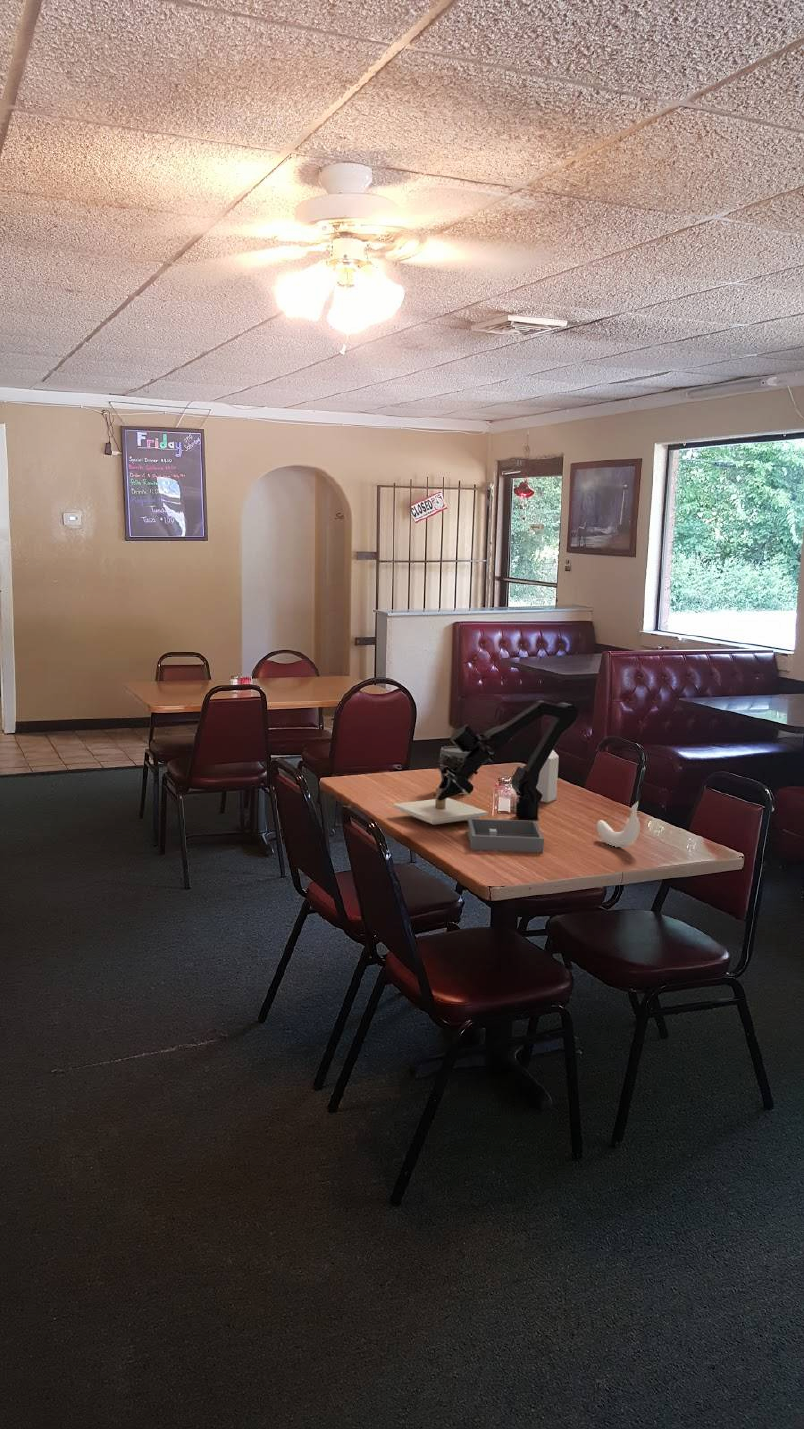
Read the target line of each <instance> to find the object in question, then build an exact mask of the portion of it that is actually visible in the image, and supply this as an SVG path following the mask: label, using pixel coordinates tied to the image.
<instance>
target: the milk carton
mask: <svg viewBox="0 0 804 1429" xmlns="http://www.w3.org/2000/svg"><path fill="white" fill-rule="evenodd" d="M559 756H560V755H558V754H557V752H555V750H554V749H553V750H552V752H551V754H550V755H549V757H548V759H547V761H546V762H545V764H544V766H543V767H542V769H541V771H540V774H539V781H538V784H537V786H536V788H537V790H538V791H539V792H540V793H541V794H542V798H541V801H540V802H542V803H546V804H547V803H550V802H553V801H555V800H557V792H558V791H557V790H558V774H559V759H560V758H559ZM531 757H532V755H531ZM531 757H530V758H531Z"/></svg>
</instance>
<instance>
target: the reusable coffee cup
mask: <svg viewBox="0 0 804 1429" xmlns="http://www.w3.org/2000/svg"><path fill="white" fill-rule="evenodd" d="M442 753H444V754H446V755H448V756H452V755H454V756H456V757H458V759H459V758H460V757H462V758H464V757H465V756H466V755H467V754H468V753H469V752H462V751H461V750H460V749H459V748H458V747H457V746H456V745H449V746H442V747H441V748H440V753H439V758H440V757H441V755H442ZM439 766H440V767H441V766H442V764H441V763H440V764H439ZM440 767H439V768H440ZM474 775H475V774H473V775H472V776H471V777H470V778H469V779H468V781H469V782H470V783H471V784H472V781H473V779H474ZM440 778H441V779H442V775H441V774H440ZM462 791H463V793H460V794H464V795H468V794H467V793H466V792H465V790H464V789H463V790H462Z"/></svg>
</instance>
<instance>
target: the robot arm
mask: <svg viewBox="0 0 804 1429" xmlns="http://www.w3.org/2000/svg"><path fill="white" fill-rule="evenodd" d="M545 715H547V716H550V721H549V726H548V728H547V730H546V731H545V733H544V734H543V736H542V739H541V740H540V742H539V744H538V745H537V747H536V748H535V750H534V752H533V753H532V755H531V756H532V757H530V758H529V760H528V761H527V763H526V764H525V765H524V766H523V767H521V766H519V765H518V766H517V767H516V769H515V772H514V773H513V774H512V775H511V778H512V779H511V781H510V784H511V787H512V789H513V790H514V791H515V794H516V796H517V801H515V810H514V811H515V813H514V814H515V816H516V818H517V820H529V821H538V820H539V807H540V806H539V802H541V798H542V794H541V793H540V792H539V791H538V790H537V788H536V786H537V784H538V781H539V774H540V771H541V769H542V767H543V766H544V764H545V762H546V761H547V759H548V757H549V755H550V754H551V752H552V750H554V749H555V747H556V745H558V744H557V743H558V742H559V740H560V739H561V737H562V736H563V734H564V733H565V732H566V731H568V730H569V729H571V727H572V726H573V725H574V724H575V722H576V721H578V719H579V715H580V714H579V709H578V708H577V707H576V706H575V705H573V704H570V703H567V702H562V701H561V702H558V703H557V704H556V703H552V702H547V701H544V700H536V701H535V703H534V704H532V705H531V706H530V707H527V708H526V709H524V710H523V711H521V713H519V714H517V715H516V716H514V717H513V718H511V719H510V720H509V721H507V722H506V723H504V724H501V725H497V726H494V727H492V728H490V729H488V730H486V731H485V732H484V733H477V734H475V732H474V731H473V730H472V728H471V727H470V726H469V725H468V724H464V725H463V726H462V727H460V728H458V729H456V730H455V731H453V733H451V736H450V740H451V742H452V743H453V744H454V746H457V747H458V748H459V749H460V750H461V751H462V752H469V753H468V754H467V755H466V756H465V757H464V758H462V757H460V758H459V759H458V757H456V756H454V755H452V756H448V755H446V754H444V753H442V755H441V757H440V756H439V759H438V762H437V763H440V764H442V766H441V767H438V770H439V771H440V776H441V775H442V778H441V781H440V784H439V786H438V787H437V788H444V790H443V791H442V792H441V794H440V795H439V796H438V798H437V799H438V800H439V801H441V800H443V799H446V798H450V797H454V796H458V795H457V794H460V793H463V791H462V790H463V789H464V790H465V792H466V793H467V794H466V795H470V794H471V793H472V792H473V791H474V785H473V784H472V782H471V783H470V782H469V781H468V779H469V778H470V777H471V776H472V775H473V774H474V775H475V776H476V775H478V774H479V772H478V770H479V769H480V768H481V767H482V766H484V764H485V763H486V762H487V761H490V762H492V763H496V753H494V752H490V750H492V751H495V752H500V751H502V750H503V749H504V748H505V747H506V746H507V745H508V744H509V743H510V742H511V740H512V739H513V737H514V736H515V735H517V734H518V733H520V732H521V731H523V730H524V729H526V728H528V726H530V725H531V724H533V723H534V722H536V721H538V719H541V718H542V717H543V716H545ZM478 743H479V744H478ZM481 745H482V747H481ZM488 749H490V750H488ZM474 775H473V776H474ZM433 797H434V798H435V797H436V791H435V793H434V794H433Z"/></svg>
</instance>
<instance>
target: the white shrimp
mask: <svg viewBox="0 0 804 1429" xmlns="http://www.w3.org/2000/svg"><path fill="white" fill-rule="evenodd" d="M638 806H639V801H636V803H634V804H633V805H632V806H631V814H630V815H629V816H630V817H629V819H628V821H627V823H626V825H625V828H624V829H623V830H621V831H615V830H614V829H613V828H612V827H611V826H610V825H609V824H608V823H607V822H606V821H604V820H602V819H600V820H598V821H597V824H596V825H597V826H596V830H597V833H598V834H599V836H600V838H601V839H602V840H603V842H605V844H607V845H608V844H609V845H608V846H610V845H612V846H611V847H613V846H615V847H614V848H617V847H621V849H622V848H623V847H624V848H627V847H629V846H632V844H633V843H634V842H635V841H636V839H637V838H638V836H639V833H640V829H641V823H640V820H639V818H638V814H637V812H638Z"/></svg>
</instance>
